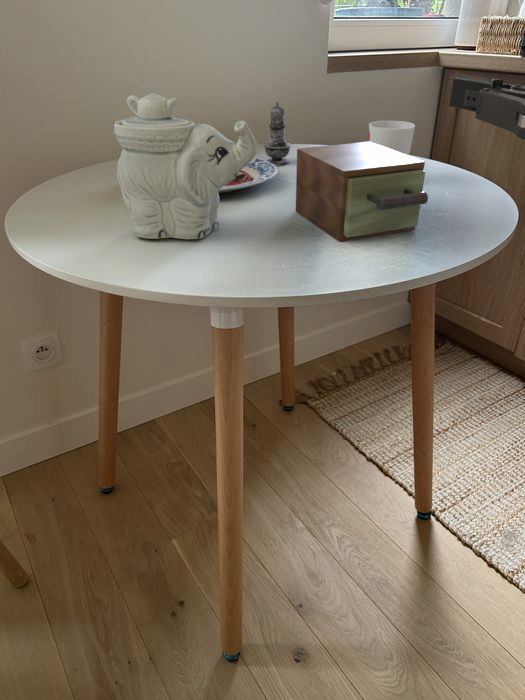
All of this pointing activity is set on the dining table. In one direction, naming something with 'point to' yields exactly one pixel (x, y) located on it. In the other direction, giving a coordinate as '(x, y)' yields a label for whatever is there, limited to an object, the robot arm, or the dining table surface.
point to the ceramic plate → (251, 175)
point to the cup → (392, 135)
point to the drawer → (383, 202)
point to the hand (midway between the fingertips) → (457, 91)
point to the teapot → (175, 169)
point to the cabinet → (341, 180)
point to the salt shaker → (277, 138)
